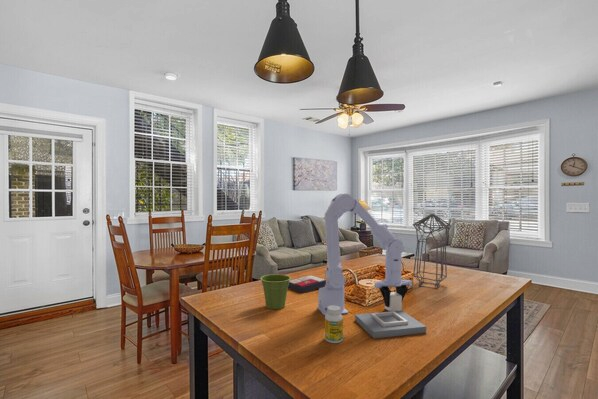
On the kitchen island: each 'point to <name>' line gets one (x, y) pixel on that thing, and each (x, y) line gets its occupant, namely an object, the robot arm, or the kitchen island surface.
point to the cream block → (395, 302)
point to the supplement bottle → (333, 324)
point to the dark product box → (306, 284)
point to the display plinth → (389, 324)
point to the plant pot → (275, 290)
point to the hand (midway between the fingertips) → (393, 305)
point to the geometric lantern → (431, 242)
